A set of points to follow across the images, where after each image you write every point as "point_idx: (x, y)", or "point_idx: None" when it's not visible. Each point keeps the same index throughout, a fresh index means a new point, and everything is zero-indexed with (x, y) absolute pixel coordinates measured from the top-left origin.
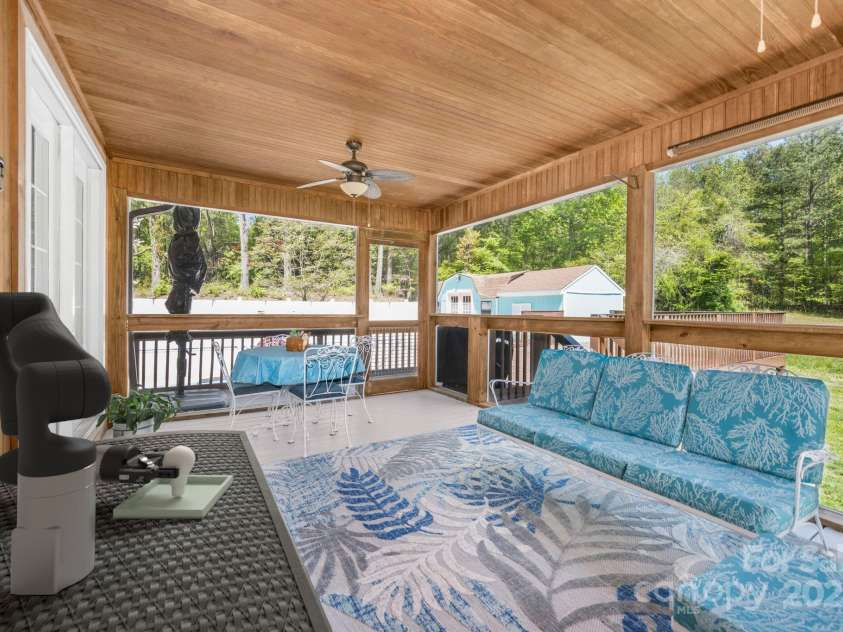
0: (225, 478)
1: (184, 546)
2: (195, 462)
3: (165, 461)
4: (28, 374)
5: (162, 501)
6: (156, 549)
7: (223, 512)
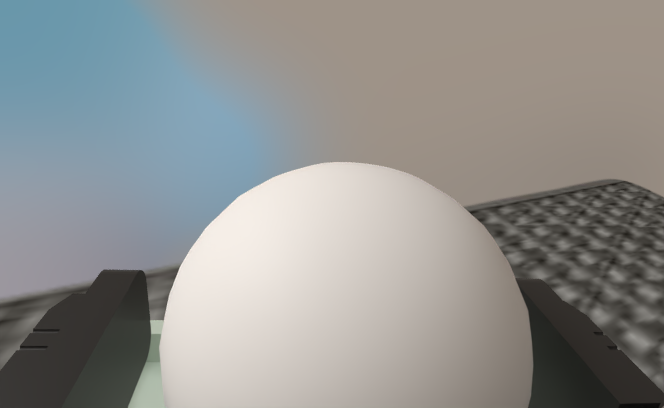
0: None
1: (655, 340)
2: (148, 348)
3: (530, 372)
4: None
5: None
6: None
7: None
